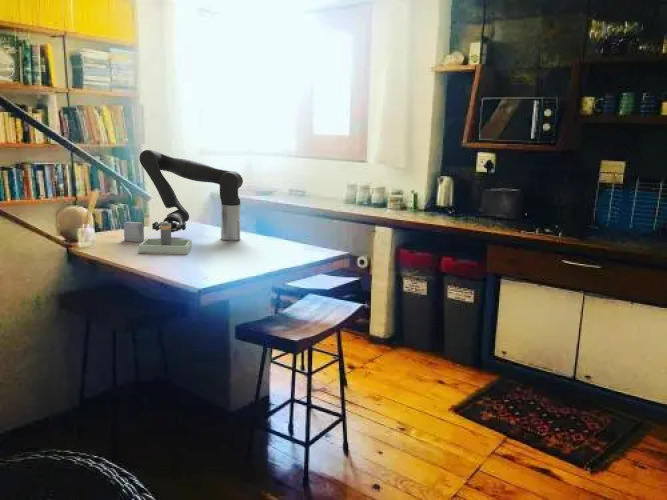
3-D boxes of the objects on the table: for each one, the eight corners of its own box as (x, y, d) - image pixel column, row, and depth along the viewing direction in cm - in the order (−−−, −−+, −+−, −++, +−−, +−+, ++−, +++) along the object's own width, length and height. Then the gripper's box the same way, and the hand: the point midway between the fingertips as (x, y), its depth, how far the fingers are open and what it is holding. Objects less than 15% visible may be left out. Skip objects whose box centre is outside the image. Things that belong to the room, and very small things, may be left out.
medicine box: (144, 240, 265) (143, 222, 263) (138, 242, 261) (138, 224, 259) (129, 239, 267) (129, 221, 265) (124, 240, 263) (123, 222, 261)
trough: (191, 247, 256) (191, 239, 255) (187, 254, 241) (186, 246, 240) (146, 246, 253) (146, 238, 253) (138, 253, 239) (138, 245, 238)
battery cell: (172, 247, 250) (171, 221, 247) (170, 249, 245) (170, 222, 243) (161, 247, 249) (161, 220, 247) (159, 249, 245) (159, 222, 242)
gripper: (156, 214, 260) (149, 219, 245) (188, 215, 262) (183, 220, 246) (157, 230, 262) (150, 236, 246) (188, 231, 264) (183, 237, 248)
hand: (166, 228), depth 246 cm, fingers open, 8 cm apart
